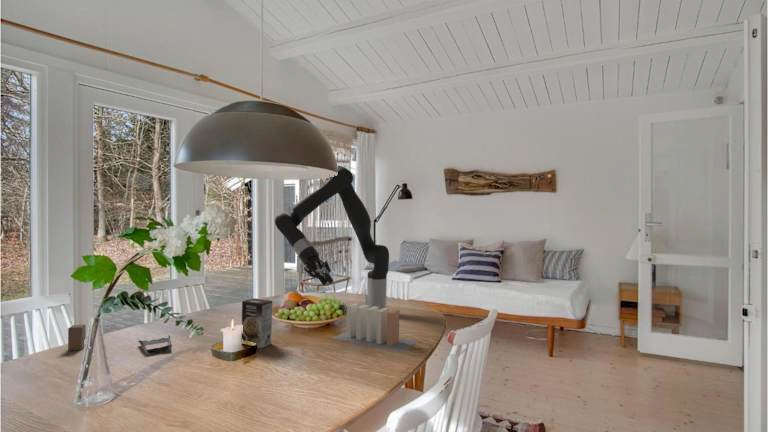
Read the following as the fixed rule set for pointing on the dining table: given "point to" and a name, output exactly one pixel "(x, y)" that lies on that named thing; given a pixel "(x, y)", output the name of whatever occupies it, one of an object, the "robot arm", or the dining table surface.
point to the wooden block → (76, 337)
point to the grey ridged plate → (397, 347)
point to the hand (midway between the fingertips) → (328, 283)
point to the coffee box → (257, 321)
